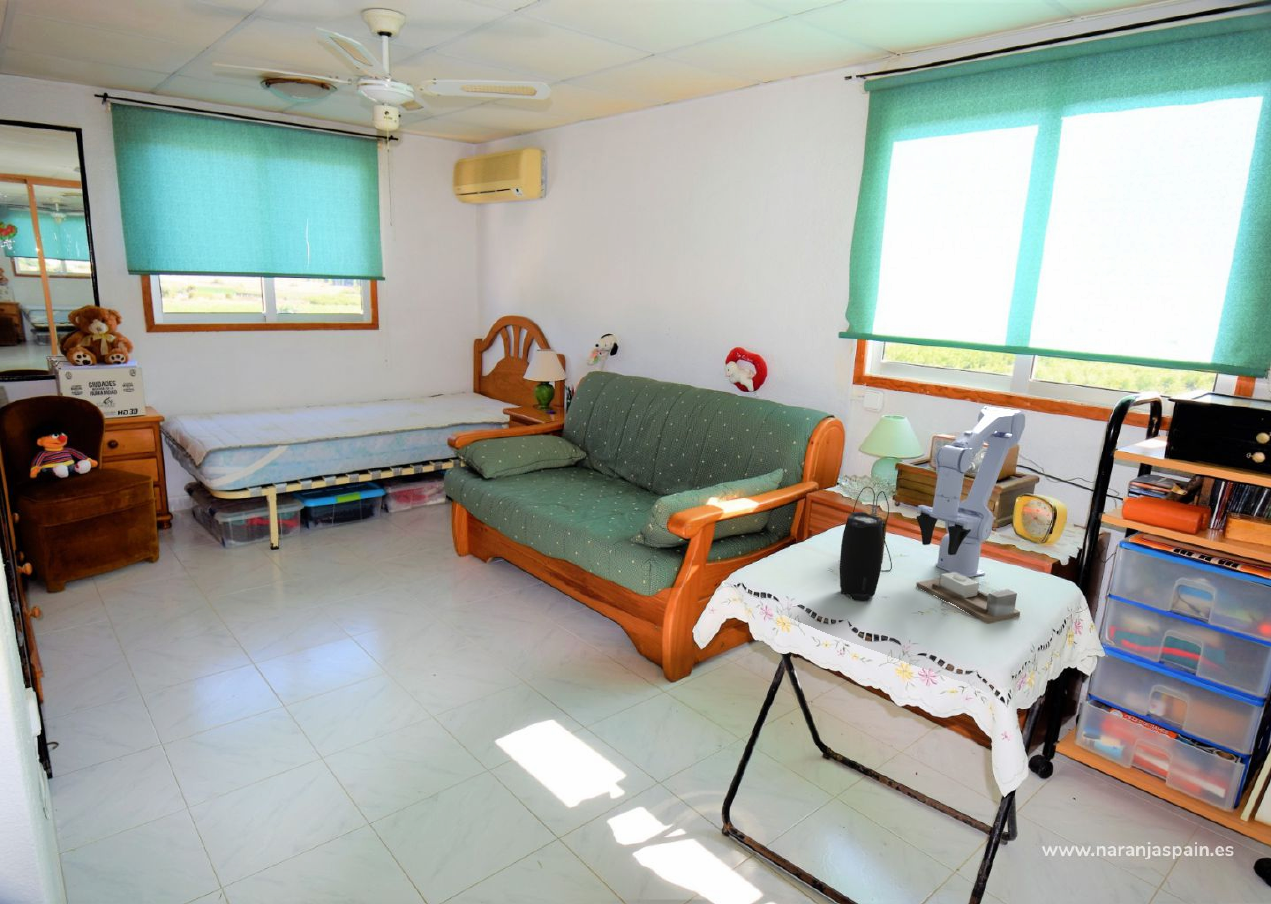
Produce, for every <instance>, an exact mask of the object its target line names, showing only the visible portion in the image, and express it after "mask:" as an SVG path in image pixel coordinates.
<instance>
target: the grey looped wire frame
mask: <svg viewBox="0 0 1271 904" xmlns="http://www.w3.org/2000/svg"><path fill="white" fill-rule="evenodd" d="M866 488H867V489H871V490H872V493H873V501H872V508H871V510H865V511H863V512H865V513H867V514H870V515H873V516H876V517H882V522H883V524H882V529H883V552H882V562H883V560H884V551H885V547H886V550H887V554H888V557H889V561H890V569H887V570H882V569H881V572H890V571H892V568H893V562H892V558H891V554H890V551H889V548H888V546H887V545H888V544H887V543H886V542H887V541H886V534H887V527H888V519H889V515H890V505H889V501H888V498H887V495H886V493H885V492H884V491H883V490H881V491H880V492H879V493H878V494H877V496H876V494H875V491H874V489H873V488H872V487H870V486H864V487H863V488H862V489H861V491H860V492H859V494H858V495H857V498H856V501H855V503H854V506H853V509H852V512H855V509H856V506H857V502H858V500H859V497H860V496H861V494H862V492H863V491H864V490H865V489H866ZM881 493H883V495H884V498H885V500H886V503H887V516H883V515H880V514H878V498H879V496H880V495H881ZM875 498H876V499H875Z"/></svg>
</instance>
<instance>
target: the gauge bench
mask: <svg viewBox="0 0 1271 904" xmlns="http://www.w3.org/2000/svg"><path fill="white" fill-rule="evenodd" d="M939 582H940V577H939V578H933V579H928V580H923V581H917V582H916V586H915V587H916V588H917V587H918V588H917V589H919V588H920V589H919V590H921V589H922V590H921V591H923V590H924V592H925V591H926V592H925V593H927V594H929V595H931V596H933V595H935V596H937V597H938V598H937V597H936V598H937V599H939V598H940V599H939V600H941V599H942V600H944V601H946V602H950V603H952V604H954V605H956V606H957V607H959V608H960V609H962V610H964V611H965V612H964V611H963V612H964V613H966V612H967V613H969V614H970V615H969V614H968V615H969V616H971V617H973V618H975V619H977V620H979V621H981V622H982V623H985V624H992V623H997V622H1001V621H1005V620H1006V621H1007V620H1010V619H1014V617H1016V618H1019V617H1020V615H1021V611H1019V610H1017V609H1015V608H1016V603H1017V597H1018V593H1017V592H1015V591H1013V590H1011V589H1009V588H1007V589H1002V590H996V591H991V592H988V593H985V592H982V591H980V590H979V589H978V592H977V596H972V597H967V598H965V597H963V596H961V595H959V594H957V593H955V592H953V591H951V590H949V589H947V588H945V587H943V586H941V585H940V584H939ZM935 596H934V597H935ZM942 600H941V601H942ZM944 601H943V602H944ZM946 602H945V603H946ZM960 609H959V610H960ZM962 610H961V611H962ZM967 613H966V614H967Z"/></svg>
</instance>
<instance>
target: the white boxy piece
mask: <svg viewBox="0 0 1271 904" xmlns="http://www.w3.org/2000/svg"><path fill="white" fill-rule="evenodd" d="M939 578H940V582H939V584H940V585H941V586H943V587H945V588H947V589H949V590H951V591H953V592H955V593H957V594H959V595H961V596H963V597H965V598H967V597H972V596H977V592H978V590H979V583H980V582H978V581H976V580H973V579H971V578H970V577H965V576H963V575H961V574H959V573H957V572H946V573H941V574H940V576H939Z"/></svg>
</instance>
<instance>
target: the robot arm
mask: <svg viewBox="0 0 1271 904" xmlns="http://www.w3.org/2000/svg"><path fill="white" fill-rule="evenodd" d="M1025 426H1026V416H1025V414H1024V412H1023V410H1014V409H1013V410H1012V409H1005V408H999V407H991V406H990V405H985V406H984V407H983V408H981V410H980V411H979V414H978V417H977V423H976V424H975V425H974V427H973V428H972V429H971V430H965V431H963V432H962V433H961V434H960V435H959V436H958V437H957V438H955V440H954V441H953V442H951V444H946V445H944V446H941V447H940V448H939V449H938V451H937V453H936V455H935V466H936V468H935V469H936V470H935V474H936V475H937V478H936V485H935V491H934V497H933V502H932V503H933V504H932V506H929V505H924V504H920V505H917V508H916V509H917V511H916V514H919V515H917V516H916V521H917V524H918V526H919V529H920V535H921V536H920V537H921V541H922V542H921V543H922V545H923V546H928V545H929V546H930V545H931V543H932V540H933V533H934V529H935V527H936V524H937V522H938V521H939V520H940V521H942V522H944V528H945V531H946V534H945V535H943V537H942V538H941V540H940V543H939V550H938V558H937V562H936V563H935V566H936V567H938V568H940V569H943V570H944V571H947V572H948V573H951V572H957V573H959V574H961V575H963V576H965V577H967V578H972V577H977V576H982V575H983V576H984V575H986V572H985V571H983V570H981V569H979V563H980V558H981V557H980V555H981V549H982V543H984V542H986V541H987V540H988V539H989V538H990V537H991V534H992V529H993V523H994V521H995V517H994V514H993V513H992V511H991V510H990V509H989V507H988V504H989V501H990V498H991V496H992V494H993V490H994V488H995V486H996V483H997V480H998V479H999V476H1000V473H1001V470H1002V469H1003V465H1004V463H1005V460H1006V458H1007V456H1008V453H1009V452H1010V448H1011V449H1012V448H1013V447H1017V445H1018V443H1019V441H1020V440H1021V438H1022V435H1023V433H1024V430H1025V428H1026V427H1025ZM984 442H985V443H986V444H987V448H986V451H985V453H984V455H983V458H982V460H981V463H980V465H979V467H978V470H977V473H976V475H975V477H974V481H973V483H972V485H971V488H970V491H969V493H968V494H967V497H966V499H964V500H961V496H962V491H963V483H964V477H965V474H966V472H968V470H969V469H970V467H971V465H972V462H973V460H974V457H976V455H977V454H978V453H979V452H980V451H981V450H982V449H983V447H984Z"/></svg>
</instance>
